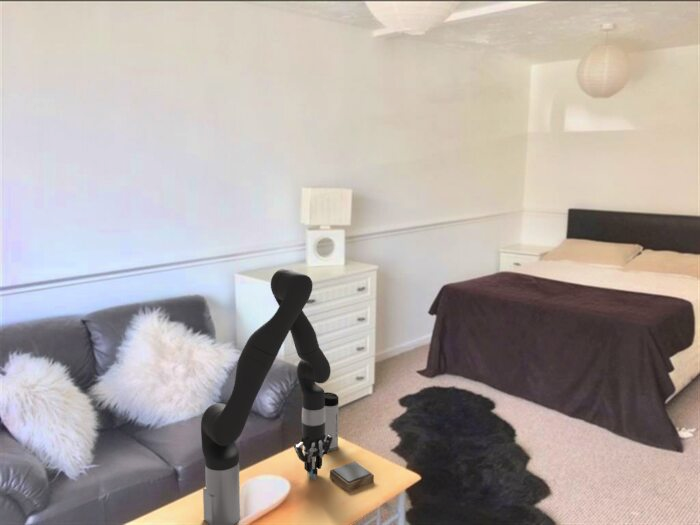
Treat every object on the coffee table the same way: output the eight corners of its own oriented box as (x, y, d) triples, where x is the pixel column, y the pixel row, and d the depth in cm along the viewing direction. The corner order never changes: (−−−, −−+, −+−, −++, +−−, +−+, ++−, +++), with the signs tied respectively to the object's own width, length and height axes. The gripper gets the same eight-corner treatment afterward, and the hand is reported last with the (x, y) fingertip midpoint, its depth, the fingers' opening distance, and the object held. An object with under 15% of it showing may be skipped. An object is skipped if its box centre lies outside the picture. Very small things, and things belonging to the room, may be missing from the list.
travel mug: (317, 444, 203) (318, 391, 200) (335, 441, 205) (335, 389, 202) (321, 452, 197) (322, 398, 194) (339, 450, 199) (340, 396, 196)
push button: (323, 480, 180) (323, 450, 178) (306, 482, 178) (307, 453, 176) (318, 469, 186) (318, 441, 184) (302, 471, 184) (302, 443, 183)
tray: (348, 492, 173) (348, 483, 173) (329, 477, 181) (330, 468, 181) (373, 481, 179) (373, 473, 179) (354, 468, 187) (354, 460, 187)
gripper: (300, 429, 172) (300, 481, 175) (338, 418, 180) (337, 468, 183) (288, 420, 178) (288, 471, 181) (325, 410, 186) (325, 458, 189)
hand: (313, 469), depth 182 cm, fingers closed on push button, 3 cm apart
